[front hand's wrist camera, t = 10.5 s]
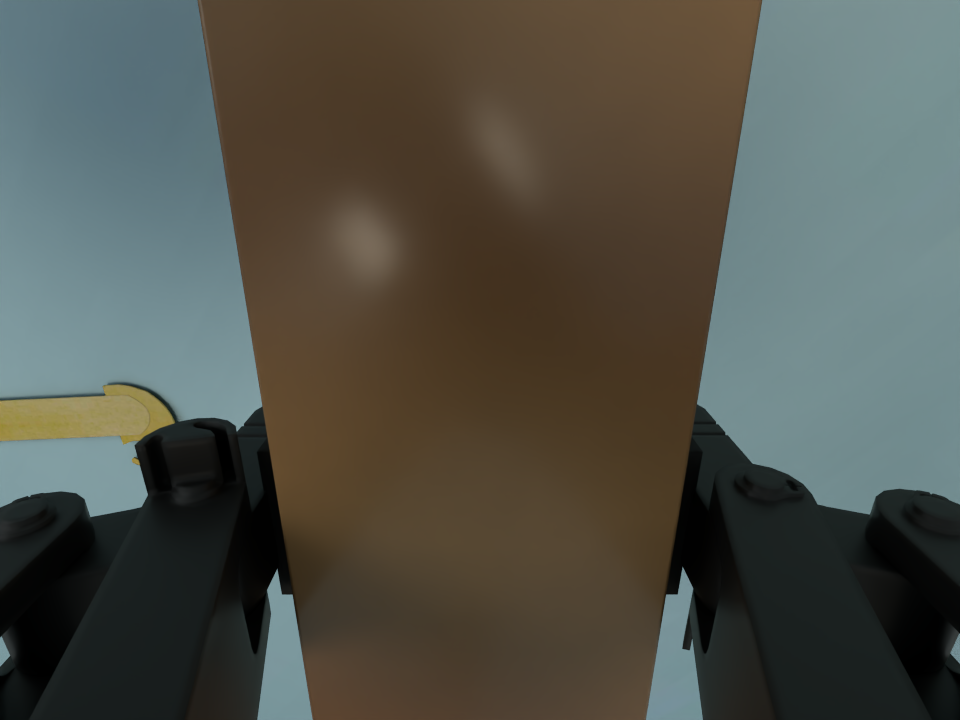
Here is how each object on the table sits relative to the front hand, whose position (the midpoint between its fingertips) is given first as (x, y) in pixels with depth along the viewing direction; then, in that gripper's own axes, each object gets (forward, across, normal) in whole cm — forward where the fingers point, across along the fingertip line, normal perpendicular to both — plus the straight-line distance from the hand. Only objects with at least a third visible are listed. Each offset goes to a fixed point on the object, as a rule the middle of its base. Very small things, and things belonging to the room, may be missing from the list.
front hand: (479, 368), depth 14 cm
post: (+1, 0, -32) cm, 32 cm away
